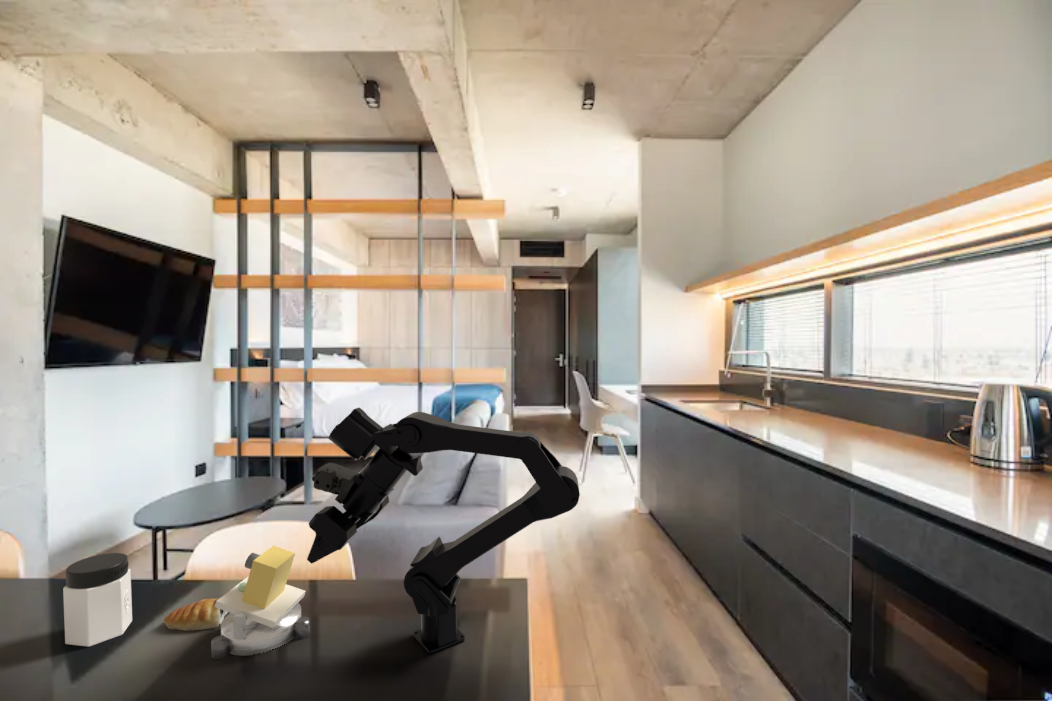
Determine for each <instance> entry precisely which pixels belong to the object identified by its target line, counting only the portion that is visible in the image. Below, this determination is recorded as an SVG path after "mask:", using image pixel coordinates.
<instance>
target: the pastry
mask: <svg viewBox="0 0 1052 701" xmlns="http://www.w3.org/2000/svg"><path fill="white" fill-rule="evenodd" d="M218 599H219V598H203V599H201V600H199V601H195V602H192V603H189V604H185V605H184V606H182V607H179V608H176V609H174V610H173V611H172V612H170V613H169V614H168V615H166V616H165V617H164V618H163V622H164V624H165V626H166V627H167V629H170V630H172V631H173V630H179V631H184V632H189V631H198V630H199V631H202V630H208V629H214V628H218V626H220V625H221V623H222V621H223V619H224V618H225V617H226V616H227V615H228V613H229V612H227V611H224V610H222V609H219V608H216V607H215V604H216V601H217V600H218ZM219 624H220V625H219Z"/></svg>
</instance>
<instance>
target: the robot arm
mask: <svg viewBox="0 0 1052 701" xmlns="http://www.w3.org/2000/svg"><path fill="white" fill-rule="evenodd" d="M328 440H329V441H330V442H331V443H333V444H334V445H336V447H337V448H339V449H341V451H343V453H346V454H347V456H349V457H350V458H351V459H353V460H354V461H358V460H361V458H362V459H364V460H367V459H368V458H369V457H370V456H371V455H372V454H374V455H373V457H372V458H371V459H370V460H369V461H368V463H367V464H366V465H365V467H364V468H363V469H361V471H360V472H357V471H355V470H353V469H351V468H349V467H345V466H343V465H340V464H337V463H335V462H328V463H326V464H323V465H322V466H320V467H319V468H318V470H316V473H315V474H314V475H313V476H312V477H311V481H312V482H313V488H314V489H316V490H319V491H323V492H324V493H329V494H332V495H337V496H336V497H335V499H334V500H335V501H336V502H337V503H338V504H340V505H342V508H343V509H344V510H345V511H344V512H342V511H341V510H340V509H339V508H337V507H336V506H335V505H329V506H325V507H324V508H321V510H318V512H317V513H315V514H314V515H313V516H312V518H311V519H310V520H309V522H308V526H309V528H310V529H311V530H312V531H313V532H314V533H315V537H314V540H313V542H312V545H311V547H310V551H309V552H308V554H307V558H306V560H307V561H308V562H309V563H310V564H314V563H316V562H318V561H320V560H322V559H323V558H325V557H327V556H328V555H331V554H334V553H335V552H337V551H339V550H340V551H341V550H342V549H343V548H344V547H345V546H346V545H347V544H348V543H349V542H351V540H352V538H354V536H355V535H356V534H357V532H358V529H359V528H361V527H362V526H364V525H366V524H367V523H369V522H371V521H373V519H375V518H376V517H378V515H379V514H380V513H381V512H383V511H384V510H385V508H386V507H387V506H388V505H389V503H390V498H389V496H390V495H391V493H392V492H393V491H394V489H395V488H394V487H395V486H396V485H397V484H398V483H399V481H400V480H401V479H402V477H403V476H404V475H405V474H406V473H407V472H409V473H410V474H411V475H413V476H415V477H416V476H418V474H420V472H421V471H422V470H423V469H424V467H423V463H422V455H420V454H426V453H435V452H442V451H456V452H464V453H470V454H478V455H479V454H480V455H487V456H495V457H500V458H501V457H502V458H507V459H508V458H511V459H518V460H520V461H521V462H522V463H523V464H524V466H525V467H526V469H527V470H528V472H529V473H530V476H532V478H533V480H534V482H535V483H534V484H533V485H532V486H531V487H530V488H529V490H527V491H526V493H525V494H524V495H523V496H521V497H520V498H518V499H517V500H516V501H514V502H512V503H511V504H509V505H508V506H506V507H505V508H503V509H502V510H500V511H497V513H496V514H494V515H492V516H491V517H488V519H486V520H484V521H482V522H481V523H480V524H478V525H476V526H474V527H473V528H472V529H471V530H469V531H467V532H466V533H464V534H463V535H461V536H459V537H458V538H456V539H455V540H453V541H449V542H444V543H443V541H442V538H441V537H440V536H438V537H436V538H435V539H434V540H433V541H432V542H431V543H430V544H428V545H426V546H422V547H420V548H419V549H418V551H417V553H416V555H415V556H414V558H413V559H412V561H411V563H410V564H409V565H410V567H409V568H408V570H407V572H406V573H405V575H404V578H403V587H404V590H405V592H406V594H407V595H408V596H409V597H410V598H411V599H412V601H413V604H414V608H415V610H416V612H417V614H418V615H420V629H418V630H416V631H414V632H413V633H412V634H413V635H412V636H413V638H414V639H415V640H416V641H417V642H418V643H419V644H420V645H421V646H422V648H424V650H425V651H426V652H427V653H429V654H433V653H435V652H438V651H440V650H443V649H446V648H448V647H452V646H454V645H456V644H459V643H461V642H463V641H465V640H466V636H465V634H463V633H462V631H461V630H460V629H458V628H457V598H456V596H455V594H456V592H457V590H458V587H459V584H460V581H461V576H459V575H458V573H459V572H460V571H461V569H463V568H464V567H466V566H467V565H470V564H471V563H472V562H474V561H475V560H477V559H478V558H480V557H482V556H483V555H485V554H486V553H488V552H489V551H491V550H492V549H494V548H495V547H497V546H498V545H500V544H502V543H504V542H505V541H507V540H508V539H510V538H511V537H514V535H516V534H517V533H519V532H521V531H522V530H524V529H525V528H527V527H529V526H530V525H531V524H533V523H535V522H540V521H544V520H549V519H553V518H556V517H558V516H560V515H563V514H565V513H568V512H570V511H572V510H573V509H574V508H575V507H576V506H577V505H578V504H579V500H580V496H581V494H580V487H579V481H578V477H577V475H576V472H574V470H573V469H571V468H570V467H567V466H564V465H562V464H561V463H560V461H559V460H558V459H557V457H556V456H555V455H554V454H553V452H551V451H550V450H549V449H548V448H547V447H546V446H545V445H544V444H543V442H542V440H541V439H540V437H539V435H538V434H536V433H534V432H532V431H527V432H521V431H520V432H519V431H512V430H504V429H497V428H487V427H481V426H472V425H466V424H465V425H464V424H457V423H454V422H451V421H448V420H446V419H444V418H442V417H440V416H437V415H434V414H430V413H428V412H425V411H415V412H412V413H410V414H408V415H406V416H404V417H403V418H401V419H400V420H399V421H397V423H389V424H388V425H385V426H384V427H383V426H382V425H380V424H379V423H377V422H376V421H375V420H374V419H373V418H371V417H370V416H369V415H368V414H367V412H365V411H364V410H363V409H362V408H360V407H355V408H354V409H352V411H350V413H349V414H348V415H347V416H345V418H344V419H342V421H340V423H337V424H336V425H335V426H334V428H333V429H332V430H331V432H330V434H329V435H328ZM377 448H378V450H377V451H376V449H377ZM375 451H376V452H375ZM374 452H375V453H374ZM414 454H419V455H414Z"/></svg>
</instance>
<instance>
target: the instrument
mask: <svg viewBox="0 0 1052 701" xmlns="http://www.w3.org/2000/svg"><path fill="white" fill-rule="evenodd" d="M295 555H296V552H294V551H290V550H287V549H284V548H282V547H279V546H276V545H272V546H271V547H270V548H267V549H266V551H264V552H262V554H258V553H256V552H251V553H250V554H249V555H248V556H247V558H246V560H245V563H244V568H246V569H250V571H249V573H248V576H247V577H246V578H244V579H243V580H242V581H240V582H239V583H238V584H236V585H235V586H234V587H232V588H231V589H230V590H228V591H227V592H226V593H225V594H224V595H222V596H220V597H219V598H217V599H218V600H217V601H216V604H215V607H216V608H219V609H222V610H224V611H227V612H228V613H229V614H230V613H233V614H237V613H246V619H250V620H252V621H255V622H258V623H261V624H264V625H266V626H269V627H272V628H274V627H275V626H276V625H277V624H278V623H279V622H280V621H281V620H282V618H283V617H284V616H285V615H286V614H287V613H288V612H289V611H290V610H291V609H292V608H293V607H294V606H295V605H296V604H297V603H299V602H300V601H301V600H302V599H303V598H304V597H305V595H306V590H305V589H301V588H298V587H297V586H296V587H295V586H293V585H289V584H287V581H288V578H289V575H290V572H291V569H292V565H293V562H294V558H295Z"/></svg>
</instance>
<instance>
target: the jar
mask: <svg viewBox="0 0 1052 701" xmlns="http://www.w3.org/2000/svg"><path fill="white" fill-rule="evenodd" d="M128 560H129V558H128V555H127V554H125V553H122V552H109V553H108V552H107V553H102V554H97V555H92V556H89V557H85V558H82V559H80V560H77V561H74V562H73V563H71V564H70V565H68V566H67V568H66V569H65V583H66V584H65V586H64V587H63V590H62V591H63V593H62V594H63V618H64V619H63V620H64V622H63V623H64V644H65V645H70V646H71V645H72V646H78V647H92V646H95V645H97V644H101V643H103V642H106V641H109V640H112V639H114V638H117V637H120V636H122V635H123V634H124V633H125V632H126V630H127V628H129V626H130V625H131V623H132V622H133V606H132V605H133V603H132V602H133V601H132V600H133V598H132V576H131V571H132V570H131V568H129V561H128Z"/></svg>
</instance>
